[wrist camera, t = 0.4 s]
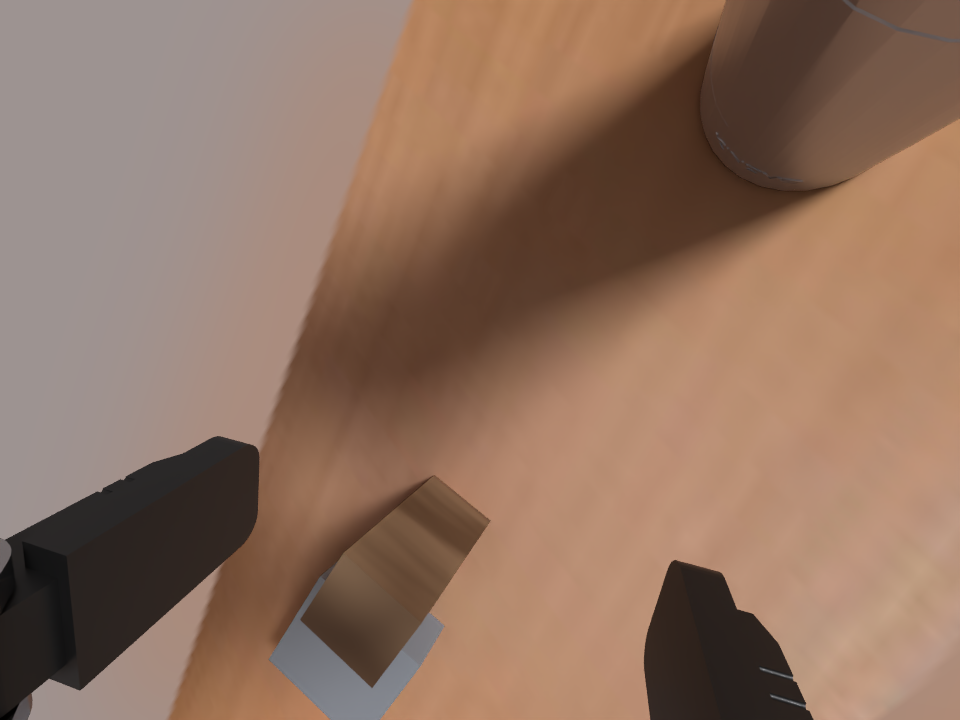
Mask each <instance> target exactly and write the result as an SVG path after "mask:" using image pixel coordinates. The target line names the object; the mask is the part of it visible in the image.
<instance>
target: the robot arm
mask: <svg viewBox="0 0 960 720" xmlns="http://www.w3.org/2000/svg"><path fill="white" fill-rule="evenodd" d="M700 115H701V120H702V124H703V129H704V133H705V135H706V137H707V140H708V142H709V144H710V146H711V148H712V150H713V152H714V153H715V154H716V155H717V156H718V158H719V159H720V160H721V161H722V162H723V164H724V165H725V166H726V167H728V168H729V169H730V170H732V171H733V172H734V173H736V174H737V175H738V176H740V177H741V178H743V179H745V180H747V181H750V182H752V183H754V184H757V185H759V186H762V187H767V188H772V189H777V190H782V191H807V190H812V189H818V188H823V187H828V186H832V185H835V184H837V183H840V182H843V181H845V180H848V179H850V178H853V177H855V176H857V175H859V174H861V173H863V172H864V171H866V170H868V169H870V168H872V167H873V166H875V165H877V164H879V163H881V162H882V161H884V160H886V159H888V158H889V157H891V156H893V155H895V154H897V153H899V152H901V151H903V150H904V149H906V148H908V147H910V146H912V145H914V144H915V143H917V142H919V141H921V140H923V139H924V138H926V137H928V136H930V135H931V134H933V133H935V132H937V131H939V130H940V129H942V128H944V127H946V126H947V125H949V124H951V123H953V122H955V121H956V120H958V119H960V0H726V2H725V5H724V9H723V12H722V16H721V19H720V22H719V26H718V28H717V32H716V35H715V39H714V42H713V46H712V49H711V53H710V56H709V60H708V63H707V67H706V71H705V75H704V79H703V83H702V88H701V93H700ZM258 486H259V452H258V449H257V448H256V447H255V446H253V445H250V444H246V443H243V442H239V441H235V440H231V439H228V438H224V437H220V436H217V437H213V438H211V439H209V440H207V441H205V442H203V443H202V444H200V445H198V446H196V447H194V448H192V449H191V450H189V451H187V452H185V453H183V454H180V455H177V456H173V457H170V458H166V459H163V460H160V461H156V462H153V463H151V464H149V465H147V466H145V467H143V468H141V469H139V470H137V471H135V472H133V473H132V474H130V475H128V476H126V478H125V479H124V480H118V481H116V482H114V483H113V484H111V485H109V486H107V487H105V488H103V490H102V492H101V493H100V492H95V493H94V494H92V495H90V496H88V497H86V498H84V499H82V500H80V501H78V502H77V503H74V504H72V505H71V506H69V507H67V508H65V509H63V510H61V511H59V512H57V513H55V514H54V515H52V516H50V517H48V518H46V519H44V520H42V521H40V522H38V523H36V524H34V525H33V526H31V527H29V528H27V529H25V530H23V531H21V532H19V533H17V534H15V535H13V536H12V537H10V538H8V539H6V540H3V539H1V538H0V720H28V717H29V715H30V712H31V708H32V694H31V693H32V692H33V691H34V690H36V689H37V688H38V687H39V686H40V685H42V684H43V683H44V682H45V681H46V680H48V679H52V680H55V681H57V682H60V683H62V684H65V685H67V686H70V687H72V688H75V689H77V690H81V689H82V688H84V687H85V686H86V685H87V684H88V683H89V682H90V681H91V680H92V679H94V678H95V677H96V676H97V675H98V674H99V673H100V672H101V671H103V670H104V669H105V668H106V667H107V666H108V665H109V664H110V663H111V662H113V661H114V660H115V659H116V658H117V657H118V656H119V655H120V654H122V653H123V651H125V650H126V649H127V648H128V647H129V646H130V645H132V644H133V643H134V642H135V641H136V640H137V639H138V638H139V637H140V636H141V635H143V634H144V633H145V632H146V631H147V630H148V629H149V628H150V627H151V626H153V625H154V624H155V623H156V622H157V621H158V620H159V619H160V618H161V617H163V616H164V615H165V614H166V613H167V612H168V611H169V610H171V609H172V608H173V607H174V606H175V605H176V604H177V603H178V602H179V601H181V599H183V598H184V597H185V596H186V595H187V594H188V593H189V592H191V590H193V589H194V588H195V587H196V586H197V585H198V584H199V583H201V582H202V581H203V580H204V579H205V578H206V577H207V576H208V575H209V574H211V573H212V572H213V571H214V570H215V569H216V568H217V567H218V566H220V565H221V564H222V563H223V562H224V561H225V560H226V559H227V558H228V557H230V556H231V555H232V554H233V553H234V552H235V551H236V550H237V549H238V548H240V547H241V546H242V545H243V544H244V543H245V541H246V540H247V539H248V537H249V536H250V534H251V532H252V530H253V528H254V525H255V523H256V519H257V513H258ZM644 671H645V679H646V687H647V696H648V704H649V712H650V720H813V718H812V716H811V713H810V711H808V710H806V707H805V706H806V702H805V700H804V698H803V696H802V694H801V692H800V689H799V687H798V685H797V683H796V682H794V681H793V674H792V672H791V670H790V668H789V665H788V663H787V661H786V659H785V657H784V655H783V652H782V650H781V648H780V646H779V644H778V643H777V641H776V640H775V639H774V638H773V637H772V636H771V634H770V633H769V632H768V631H767V630H766V629H765V627H764V626H763V625H762V624H761V623H760V622H759V620H758V619H757V618H756V617H755V616H754V615H753V614H752V613H748V612H744V611H741V610H737V608H736V606H735V603H734V601H733V598H732V596H731V593H730V590H729V588H728V585H727V583H726V580H725V578H724V576H723V575H722V573H720V572H718V571H714V570H710V569H706V568H703V567H699V566H695V565H692V564H688V563H684V562H680V561H677V560H674V561H672V562H671V564H670V566H669V568H668V570H667V573H666V576H665V579H664V582H663V586H662V589H661V592H660V595H659V598H658V601H657V604H656V607H655V610H654V613H653V616H652V619H651V622H650V626H649V629H648V632H647V637H646V643H645V652H644Z"/></svg>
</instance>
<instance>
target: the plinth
mask: <svg viewBox="0 0 960 720" xmlns="http://www.w3.org/2000/svg"><path fill="white" fill-rule="evenodd" d="M337 562H338V561H337ZM337 562H336V563H335V564H334V565H333V566H332V567H330V568H329V569H328V570H327V571H326V572H325V573H323V574H322V575H321V576H320V577H319V579H318V581H317V582H316V584H315V586H314V587H313V589H312V590H311V592H310V594H309V595H308V597H307V598H306V600H305V602H304V603H303V605H302V607H301V608H300V610H299V611H298V613H297V615H296V616H295V618H294V619H293V621H292V623H291V624H290V626H289V628H288V629H287V631H286V632H285V634H284V636H283V637H282V639H281V640H280V642H279V644H278V645H277V647H276V649H275V650H274V652H273V653H272V655H271V657H270V658H269V660H270V661H271V662H272V663H273V664H274V665H275V666H276V667H277V668H278V669H279V670H280V671H281V672H282V673H283V674H284V675H285V676H286V677H287V678H288V679H289V680H290V681H291V682H292V683H293V684H294V685H295V686H296V687H298V688H299V689H300V690H301V691H302V692H303V693H304V694H305V695H306V696H307V697H308V698H309V699H310V700H311V701H312V702H313V703H314V704H315V705H316V706H317V707H318V708H319V709H320V710H321V711H322V712H323V713H324V714H325V715H326V716H327V717H328V718H330V719H331V720H380V719H381V718H382V716H383V715H384V714H385V712H386V711H387V710H388V708H389V707H390V706H391V704H392V703H393V702H394V700H395V699H396V698H397V696H398V695H399V694H400V692H401V691H402V690H403V688H404V687H405V686H406V685H407V683H408V682H409V681H410V679H411V678H412V677H413V675H414V674H415V673H416V671H417V670H418V669H419V667H420V666H421V664H422V663H423V661H424V659H425V658H426V656H427V654H428V653H429V651H430V649H431V648H432V646H433V644H434V643H435V641H436V639H437V638H438V636H439V634H440V633H441V631H442V629H443V628H444V625H443V624H442V623H441V622H440V621H438V620H437V619H436V618H435V617H434V616H433V615H431V614H430V613H428V614H427V616H426V617H425V619H424V620H423V622H422V623H421V625H420V626H419V627H418V629H417V630H416V631H415V633H414V634H413V635H412V636H411V638H410V639H409V640H408V642H407V643H406V644H405V646H404V647H403V648H402V650H401V651H400V652H399V654H398V655H397V656H396V658H395V659H394V660H393V662H392V663H391V664H390V665H389V667H388V668H387V669H386V671H385V672H384V673H383V675H382V676H381V677H380V679H379V680H378V681H377V683H376V684H375V685H374V687H373V688H371V687H370V686H369V685H368V684H367V683H366V682H365V681H364V680H363V679H362V678H361V677H360V676H359V675H357V674H356V673H355V672H354V671H353V670H352V669H351V668H350V667H349V666H348V665H347V664H346V663H345V662H344V661H343V660H342V659H341V658H340V657H339V656H337V655H336V654H335V653H334V652H333V651H332V650H331V649H330V648H329V647H328V646H327V645H326V644H325V643H324V642H323V641H322V640H321V639H320V638H319V637H317V636H316V635H315V634H314V633H313V632H312V631H311V630H310V629H309V628H308V627H307V626H306V625H305V624H304V623H303V622H302V621H301V620H300V619H301V617H302V616H303V614H304V613H305V611H306V610H307V608H308V607H309V605H310V604H311V602H312V600H313V599H314V597H315V596H316V594H317V593H318V591H319V590H320V588H321V587H322V585H323V584H324V582H325V580H326V579H327V577H328V576H329V574H330V573H331V571H332V570H333V568H334V567H335V565H336V564H337Z"/></svg>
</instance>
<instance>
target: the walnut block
mask: <svg viewBox="0 0 960 720" xmlns="http://www.w3.org/2000/svg"><path fill="white" fill-rule="evenodd" d="M489 522H490V520H489V519H488V518H486V517H485V516H484V515H483V514H482V513H480V512H479V511H478V510H477V509H475V508H474V507H473V506H472V505H470V504H469V503H468V502H467V501H466V500H464V499H463V498H462V497H461V496H459V495H458V494H457V493H456V492H454V491H453V490H452V489H451V488H450V487H448V486H447V485H446V484H445V483H443V482H442V481H441V480H440V479H439V478H437V477H436V476H435V475H434V476H433V477H431V478H430V479H429V480H428V481H427V482H426V483H424V484H423V485H422V486H421V487H420V488H419V489H417V490H416V491H415V492H414V493H413V494H412V495H410V496H409V497H408V498H407V499H406V500H405V501H403V502H402V503H401V504H400V505H399V506H398V507H396V508H395V509H394V510H393V511H392V512H391V513H389V514H388V515H387V516H386V517H385V518H384V519H382V520H381V521H380V522H379V523H378V524H377V525H375V526H374V527H373V528H372V529H371V530H370V531H368V532H367V533H366V534H365V535H364V536H363V537H361V538H360V539H359V540H358V541H357V542H356V543H354V544H353V545H352V546H351V547H350V548H349V549H347V550H346V551H345V552H344V553H343V554H342V556H341V557H340V559H339V560H338V562H337V564H336V565H335V567H334V568H333V570H332V571H331V573H330V574H329V576H328V577H327V579H326V580H325V582H324V584H323V585H322V587H321V588H320V590H319V591H318V593H317V594H316V596H315V597H314V599H313V600H312V602H311V604H310V605H309V607H308V608H307V610H306V611H305V613H304V614H303V616H302V617H301V619H300V620H301V621H302V622H303V623H304V624H305V625H306V626H307V627H308V628H309V629H310V630H311V631H312V632H313V633H314V634H315V635H316V636H317V637H319V638H320V639H321V640H322V641H323V642H324V643H325V644H326V645H327V646H328V647H329V648H330V649H331V650H332V651H333V652H334V653H335V654H336V655H337V656H339V657H340V658H341V659H342V660H343V661H344V662H345V663H346V664H347V665H348V666H349V667H350V668H351V669H352V670H353V671H354V672H355V673H356V674H357V675H359V676H360V677H361V678H362V679H363V680H364V681H365V682H366V683H367V684H368V685H369V686H370V687H371V688H373V687H374V685H375V684H376V683H377V681H378V680H379V679H380V677H381V676H382V675H383V673H384V672H385V671H386V669H387V668H388V667H389V665H390V664H391V663H392V662H393V660H394V659H395V658H396V656H397V655H398V654H399V652H400V651H401V650H402V648H403V647H404V646H405V644H406V643H407V642H408V640H409V639H410V638H411V636H412V635H413V634H414V633H415V631H416V630H417V629H418V627H419V626H420V625H421V623H422V622H423V620H424V619H425V617H426V616H427V614H428V613H429V611H430V610H431V608H432V607H433V606H434V604H435V603H436V601H437V600H438V598H439V597H440V595H441V594H442V592H443V591H444V589H445V588H446V586H447V585H448V583H449V582H450V580H451V579H452V577H453V576H454V574H455V573H456V571H457V570H458V568H459V567H460V565H461V564H462V562H463V561H464V560H465V558H466V557H467V555H468V554H469V552H470V551H471V549H472V548H473V546H474V545H475V543H476V542H477V540H478V539H479V537H480V536H481V534H482V533H483V531H484V530H485V528H486V527H487V525H488V524H489Z"/></svg>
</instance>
